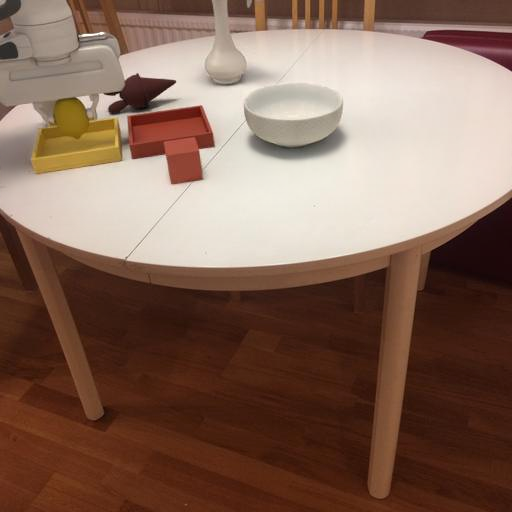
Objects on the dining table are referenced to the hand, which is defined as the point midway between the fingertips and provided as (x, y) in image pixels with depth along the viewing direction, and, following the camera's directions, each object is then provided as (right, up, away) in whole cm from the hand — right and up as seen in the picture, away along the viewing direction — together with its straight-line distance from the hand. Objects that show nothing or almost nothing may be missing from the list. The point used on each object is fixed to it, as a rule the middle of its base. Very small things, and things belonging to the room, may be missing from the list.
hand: (72, 122), depth 90 cm
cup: (-6, +3, +13) cm, 15 cm away
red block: (+20, -10, -6) cm, 23 cm away
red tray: (+16, -1, +5) cm, 17 cm away
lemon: (0, -3, +2) cm, 3 cm away
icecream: (+8, +8, +18) cm, 22 cm away
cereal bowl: (+38, -2, +2) cm, 38 cm away
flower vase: (+26, +17, +28) cm, 42 cm away
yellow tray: (0, -4, +3) cm, 5 cm away
